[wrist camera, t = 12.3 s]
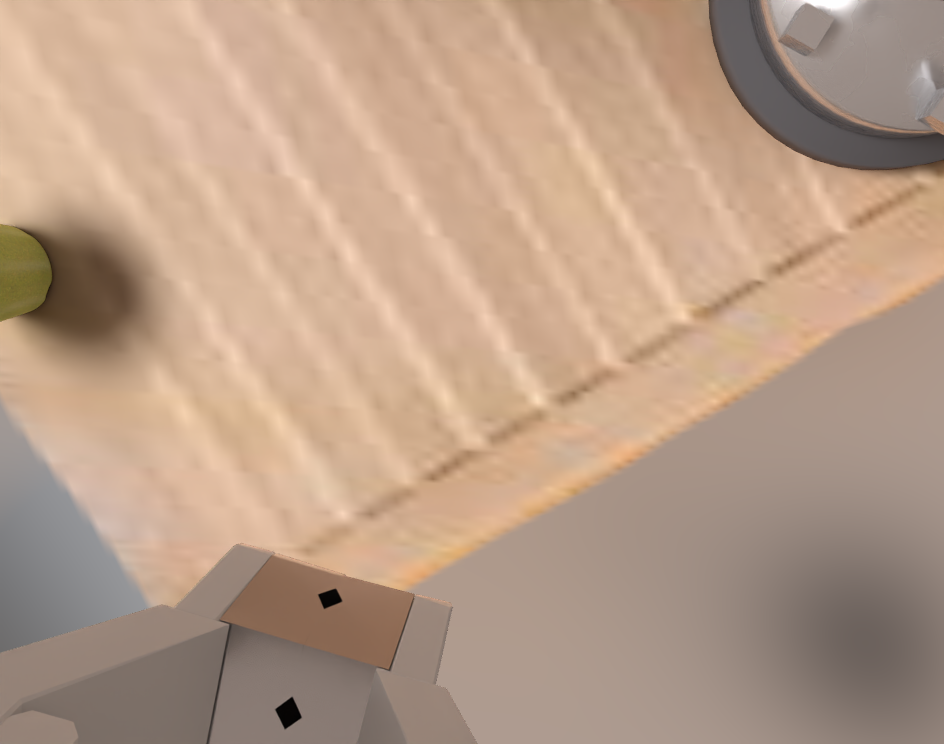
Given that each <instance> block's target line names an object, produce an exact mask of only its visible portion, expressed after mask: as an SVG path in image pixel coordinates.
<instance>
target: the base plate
mask: <svg viewBox="0 0 944 744" xmlns="http://www.w3.org/2000/svg"><path fill="white" fill-rule="evenodd" d="M709 18H710V24H711V30H712V36H713V42H714V46H715V49H716V52H717V56H718V59H719V62H720V65H721V68H722V70H723V72H724V74H725V76H726V79H727V81H728V83H729V85H730V87H731V89H732V90H733V92H734V93H735V95H736V96H737V98H738V100H739V101H740V103H741V104H742V106H743V107H744V108H745V109H746V111H747V112H748V113H749V114H750V115H751V116H752V117H753V119H754V120H755V121H756V122H757V123H758V124H759V125H760V126H761V127H762V128H763V129H765V130H766V131H767V132H768V133H769V134H770V135H772V136H773V137H774V138H775V139H777V140H778V141H780V142H781V143H783V144H785V145H786V146H788V147H789V148H791V149H793V150H794V151H796V152H798V153H801V154H803V155H805V156H807V157H810V158H812V159H814V160H817V161H821V162H824V163H828V164H831V165H835V166H839V167H846V168H853V169H860V170H888V169H896V168H904V167H912V166H917V165H922V164H928V163H932V162H936V161H940V160H944V135H942V134H940V133H937V134H932V135H928V136H920V137H911V138H881V137H875V136H869V135H862V134H858V133H855V132H852V131H849V130H845V129H842V128H840V127H837V126H835V125H833V124H831V123H829V122H827V121H825V120H823V119H821V118H819V117H818V116H816V115H815V114H813V113H812V112H810V111H809V110H807V109H806V108H804V107H803V106H802V105H801V104H800V103H799V102H798V101H797V100H796V99H794V98H793V97H792V96H791V95H790V94H789V93H788V92H787V90H786V89H785V88H784V87H783V86H782V84H781V83H780V82H779V81H778V79H777V78H776V77H775V75H774V74H773V72H772V70H771V69H770V67H769V65H768V64H767V62H766V60H765V58H764V56H763V54H762V51H761V49H760V47H759V44H758V42H757V39H756V36H755V32H754V28H753V25H752V21H751V17H750V9H749V2H748V0H709Z"/></svg>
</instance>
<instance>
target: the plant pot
mask: <svg viewBox="0 0 944 744" xmlns="http://www.w3.org/2000/svg"><path fill="white" fill-rule="evenodd" d="M51 282H52V270H51V265H50V262H49V259H48V256H47V254H46V252H45V251H44V249H43V247H42V246H41V245H40V243H39V242H38V241H37V240H36V239H35V238H33V237H32V236H30V235H28V234H27V233H25V232H23V231H21V230H20V229H18V228H16V227H13V226H8V225H2V224H0V321H3V320H6V319H10V318H13V317H16V316H19V315H22V314H24V313H28V312H30V311H33V310H35V309H36V308H38V307H39V306H40V305H41V304H42V303H43V302H44V301H45V297H46V294H47V291H48V288H49V286H50V284H51Z"/></svg>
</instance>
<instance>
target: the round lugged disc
mask: <svg viewBox="0 0 944 744" xmlns="http://www.w3.org/2000/svg"><path fill="white" fill-rule="evenodd" d="M748 2H749V9H750V17H751V21H752V25H753V28H754V32H755V36H756V39H757V42H758V44H759V47H760V49H761V51H762V54H763V56H764V58H765V60H766V62H767V64H768V65H769V67H770V69H771V70H772V72H773V74H774V75H775V77H776V78H777V79H778V81H779V82H780V83H781V84H782V86H783V87H784V88H785V89H786V90H787V92H788V93H789V94H790V95H791V96H792V97H793V98H794V99H796V100H797V101H798V102H799V103H800V104H801V105H802V106H803V107H804V108H806V109H807V110H809V111H810V112H812V113H813V114H815V115H816V116H818V117H819V118H821V119H823V120H825V121H827V122H829V123H831V124H833V125H835V126H837V127H840V128H842V129H845V130H849V131H852V132H855V133H858V134H862V135H869V136H875V137H881V138H911V137H920V136H928V135H932V134H937V133H940V134H942V135H944V0H748Z"/></svg>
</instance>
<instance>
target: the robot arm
mask: <svg viewBox="0 0 944 744" xmlns="http://www.w3.org/2000/svg"><path fill="white" fill-rule="evenodd" d="M414 597H415V598H414ZM452 608H453V607H452V604H451V603H450V602H446V601H441V600H437V599H433V598H429V597H425V596H421V595H416V596H415V594H412V593H409V592H405V591H401V590H397V589H393V588H389V587H386V586H382V585H378V584H374V583H370V582H366V581H363V580H359V579H355V578H351V577H347V576H346V575H345V574H342V573H339V572H335V571H332V570H329V569H326V568H323V567H319V566H316V565H313V564H310V563H307V562H303V561H300V560H297V559H294V558H291V557H287V556H284V555H281V554H275V553H274V552H272V551H269V550H265V549H261V548H258V547H254V546H251V545H247V544H243V543H241V544H236V545H235V546H233V547H232V548H231V549H230V550H229V551H228V552H227V553H226V554H225V555H224V556H223V557H222V558H221V559H220V560H219V561H218V562H217V564H216V565H215V566H214V567H213V568H212V569H211V570H210V571H209V572H208V573H207V574H206V575H205V576H204V577H203V578H202V579H201V580H200V581H199V582H198V583H197V584H196V585H195V586H194V587H193V588H192V589H191V590H190V591H189V592H188V593H187V594H186V595H185V596H184V597H183V598H182V599H181V600H180V601H179V602H178V603H177V604H176V605H175V607H174V608H173V607H170V606H166V605H159V606H155V607H152V608H149V609H146V610H142V611H139V612H135V613H132V614H129V615H126V616H122V617H119V618H115V619H112V620H109V621H105V622H102V623H99V624H96V625H92V626H89V627H86V628H82V629H79V630H75V631H72V632H69V633H65V634H62V635H59V636H56V637H52V638H49V639H45V640H42V641H38V642H35V643H32V644H29V645H25V646H22V647H18V648H15V649H12V650H9V651H5V652H2V653H0V744H477V742H476V741H475V739H474V737H473V735H472V733H471V731H470V730H469V728H468V726H467V724H466V723H465V720H464V719H463V717H462V715H461V713H460V711H459V710H458V708H457V706H456V704H455V703H454V701H453V699H452V697H451V695H450V693H449V692H448V690H447V689H446V688H444V687H441V686H437V685H436V681H437V676H438V672H439V667H440V662H441V658H442V654H443V649H444V644H445V639H446V635H447V631H448V625H449V621H450V617H451V612H452Z"/></svg>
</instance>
